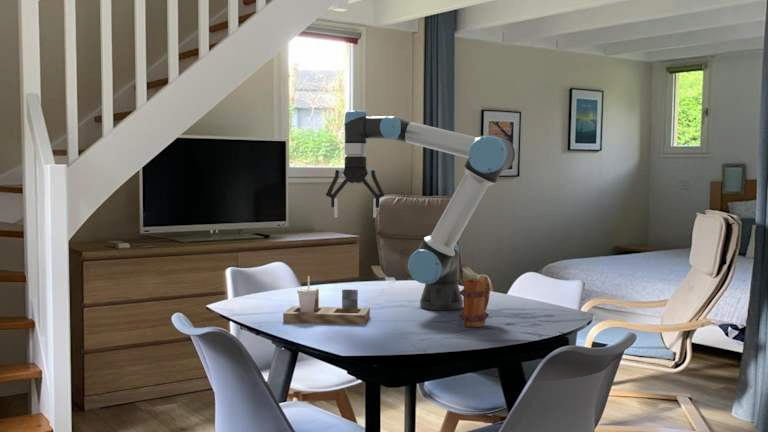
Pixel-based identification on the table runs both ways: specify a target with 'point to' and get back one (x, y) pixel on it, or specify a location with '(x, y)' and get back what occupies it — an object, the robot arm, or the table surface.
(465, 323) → the mug
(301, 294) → the smoothie
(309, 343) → the table surface
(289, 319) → the socket board
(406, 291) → the table surface
